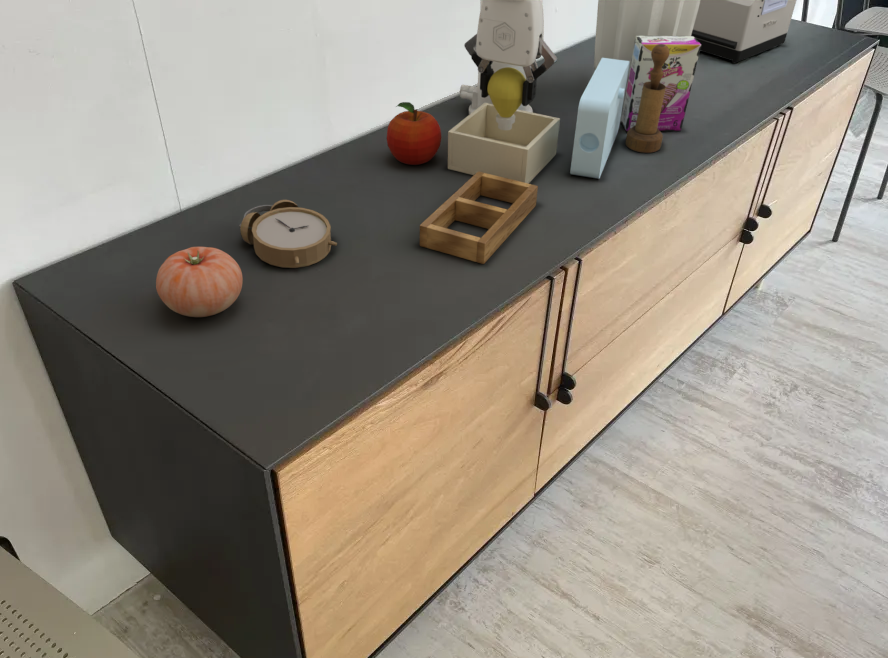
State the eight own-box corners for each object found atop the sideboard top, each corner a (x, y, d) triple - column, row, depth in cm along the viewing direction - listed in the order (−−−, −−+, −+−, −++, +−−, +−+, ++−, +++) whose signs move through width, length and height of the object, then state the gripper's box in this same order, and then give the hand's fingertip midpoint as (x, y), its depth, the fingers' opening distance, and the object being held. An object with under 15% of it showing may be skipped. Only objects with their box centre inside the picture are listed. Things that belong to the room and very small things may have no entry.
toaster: (735, 66, 178) (756, -16, 166) (646, 39, 191) (660, -39, 180) (788, 45, 190) (810, -34, 178) (700, 20, 204) (716, -54, 192)
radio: (603, 182, 133) (615, 106, 124) (569, 177, 134) (579, 101, 125) (623, 129, 150) (635, 59, 141) (593, 125, 151) (603, 55, 142)
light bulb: (492, 137, 131) (495, 77, 124) (480, 121, 136) (483, 63, 129) (530, 133, 132) (535, 73, 126) (517, 118, 137) (521, 60, 131)
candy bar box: (625, 132, 149) (641, 43, 138) (619, 122, 153) (634, 34, 142) (683, 132, 150) (702, 43, 139) (675, 121, 153) (694, 34, 143)
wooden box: (447, 169, 136) (448, 131, 131) (483, 138, 146) (484, 102, 141) (524, 188, 131) (528, 149, 126) (556, 154, 141) (560, 118, 136)
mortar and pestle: (660, 154, 142) (681, 53, 130) (624, 151, 143) (642, 49, 131) (660, 139, 147) (680, 40, 135) (625, 136, 148) (642, 37, 136)
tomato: (148, 324, 100) (133, 272, 95) (185, 279, 108) (172, 228, 103) (227, 335, 99) (216, 283, 94) (259, 288, 107) (250, 237, 102)
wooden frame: (419, 246, 116) (419, 225, 114) (477, 190, 130) (478, 171, 128) (483, 264, 113) (484, 243, 110) (536, 205, 126) (538, 185, 124)
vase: (698, 106, 159) (732, -42, 141) (616, 119, 154) (640, -35, 136) (646, 74, 173) (672, -65, 155) (569, 84, 167) (586, -59, 149)
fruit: (426, 176, 133) (426, 119, 127) (377, 165, 136) (375, 109, 130) (450, 154, 140) (451, 99, 134) (403, 144, 143) (401, 90, 136)
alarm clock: (286, 261, 107) (220, 206, 113) (286, 288, 111) (222, 234, 116) (348, 231, 113) (282, 181, 119) (346, 257, 117) (282, 207, 123)
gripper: (452, -19, 120) (450, 97, 131) (558, -3, 114) (546, 117, 125) (473, -29, 125) (470, 83, 136) (576, -14, 119) (563, 101, 131)
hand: (506, 98), depth 131 cm, fingers closed on light bulb, 6 cm apart
